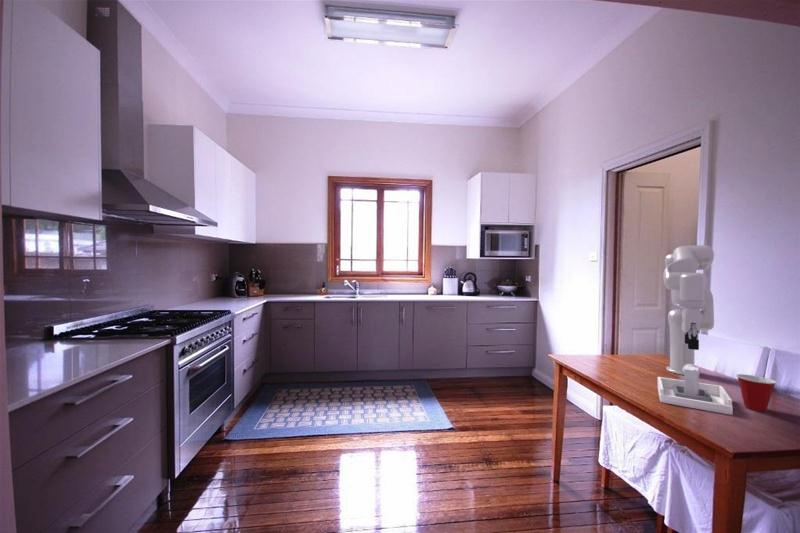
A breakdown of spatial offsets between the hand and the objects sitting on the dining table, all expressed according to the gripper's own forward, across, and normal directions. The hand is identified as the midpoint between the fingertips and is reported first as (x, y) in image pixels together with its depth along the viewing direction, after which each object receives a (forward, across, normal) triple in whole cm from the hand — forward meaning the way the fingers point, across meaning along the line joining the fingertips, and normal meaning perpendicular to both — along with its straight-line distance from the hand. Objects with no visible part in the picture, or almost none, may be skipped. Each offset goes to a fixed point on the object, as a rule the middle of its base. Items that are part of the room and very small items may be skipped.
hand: (691, 346), depth 137 cm
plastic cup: (+22, -3, +19) cm, 29 cm away
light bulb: (+22, -19, +2) cm, 29 cm away
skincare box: (+21, 0, 0) cm, 21 cm away
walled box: (+22, 0, 0) cm, 22 cm away
